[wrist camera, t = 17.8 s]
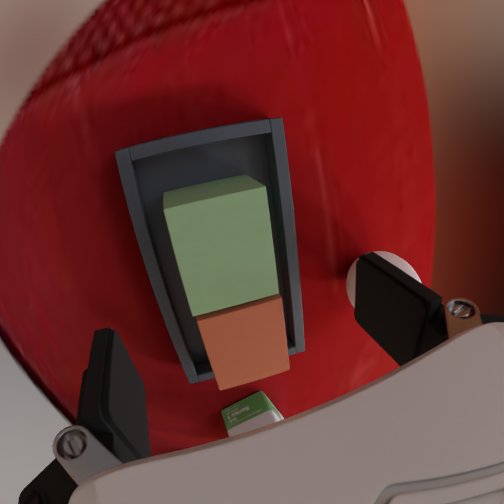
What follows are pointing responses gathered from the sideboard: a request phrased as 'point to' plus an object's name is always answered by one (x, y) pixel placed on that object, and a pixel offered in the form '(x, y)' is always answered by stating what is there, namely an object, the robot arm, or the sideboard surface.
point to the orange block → (245, 341)
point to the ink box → (250, 414)
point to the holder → (197, 172)
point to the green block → (222, 242)
